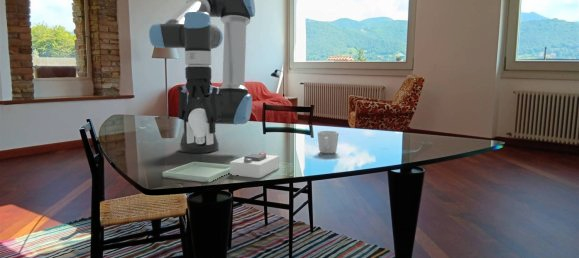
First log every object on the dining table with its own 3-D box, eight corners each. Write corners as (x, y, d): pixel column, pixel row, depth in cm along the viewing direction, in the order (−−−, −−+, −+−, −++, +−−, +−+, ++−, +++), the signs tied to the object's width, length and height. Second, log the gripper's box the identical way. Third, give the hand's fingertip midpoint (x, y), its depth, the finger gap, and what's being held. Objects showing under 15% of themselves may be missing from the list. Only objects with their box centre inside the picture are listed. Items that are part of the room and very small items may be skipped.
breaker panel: (230, 174, 127) (229, 159, 126) (251, 165, 140) (251, 151, 139) (259, 178, 123) (259, 162, 123) (279, 168, 136) (279, 153, 135)
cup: (336, 156, 155) (336, 135, 154) (315, 155, 157) (315, 134, 155) (339, 151, 165) (339, 131, 164) (318, 150, 167) (319, 130, 166)
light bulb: (190, 143, 130) (189, 107, 129) (212, 142, 131) (211, 107, 129) (187, 146, 124) (186, 109, 122) (210, 146, 124) (209, 109, 123)
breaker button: (244, 169, 130) (244, 156, 130) (252, 165, 135) (251, 153, 134) (259, 170, 128) (259, 157, 128) (266, 167, 133) (266, 154, 132)
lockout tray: (162, 177, 124) (162, 172, 124) (194, 165, 139) (194, 161, 139) (208, 182, 118) (208, 177, 118) (237, 170, 133) (236, 165, 133)
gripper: (163, 66, 124) (166, 143, 127) (219, 65, 117) (221, 147, 120) (179, 66, 131) (181, 139, 134) (233, 66, 124) (234, 143, 127)
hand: (200, 143), depth 127 cm, fingers closed on light bulb, 6 cm apart
